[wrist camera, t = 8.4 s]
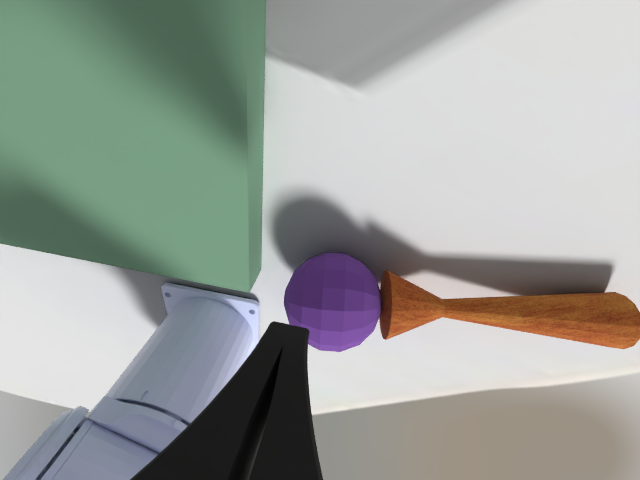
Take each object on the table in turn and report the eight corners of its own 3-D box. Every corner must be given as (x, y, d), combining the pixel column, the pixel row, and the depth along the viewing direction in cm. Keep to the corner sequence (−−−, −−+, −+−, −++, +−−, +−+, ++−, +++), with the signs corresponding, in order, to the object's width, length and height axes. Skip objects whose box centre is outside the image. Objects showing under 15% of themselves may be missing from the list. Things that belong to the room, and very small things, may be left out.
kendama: (611, 390, 18) (281, 364, 18) (559, 306, 22) (294, 288, 23) (701, 342, 14) (272, 311, 14) (616, 250, 18) (289, 230, 19)
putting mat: (261, 269, 22) (249, 292, 19) (-39, 211, 23) (-80, 227, 21) (266, -15, 13) (245, -28, 11) (-220, -82, 14) (-323, -106, 12)
